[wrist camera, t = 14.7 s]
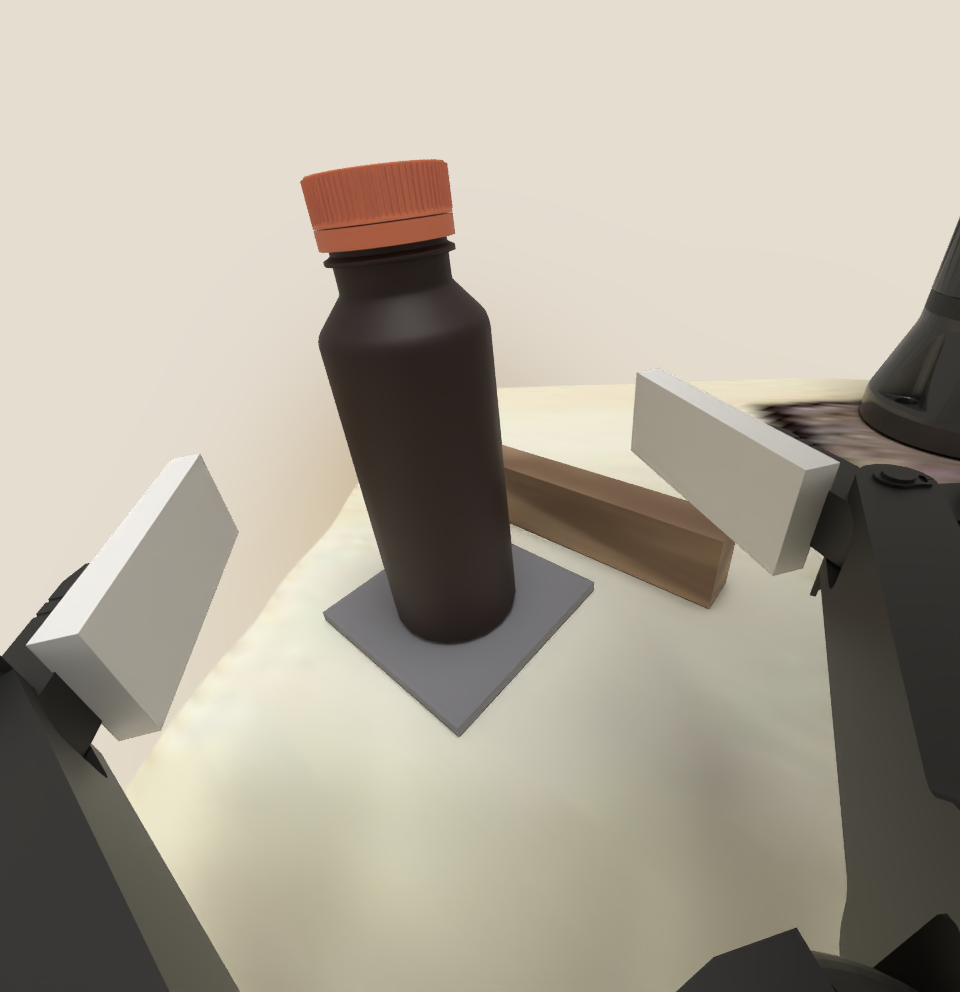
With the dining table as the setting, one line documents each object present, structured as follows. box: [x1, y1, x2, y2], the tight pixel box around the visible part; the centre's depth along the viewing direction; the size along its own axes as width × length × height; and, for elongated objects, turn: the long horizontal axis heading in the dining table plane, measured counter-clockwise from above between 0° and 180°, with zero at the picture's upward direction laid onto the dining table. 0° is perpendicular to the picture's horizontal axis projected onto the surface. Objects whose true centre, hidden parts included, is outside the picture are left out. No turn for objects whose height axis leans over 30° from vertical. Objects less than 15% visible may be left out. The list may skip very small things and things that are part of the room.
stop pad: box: [323, 544, 594, 737], centre depth 26 cm, size 11×11×1 cm
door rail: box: [502, 445, 735, 609], centre depth 31 cm, size 2×22×4 cm, turn 48°
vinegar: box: [300, 159, 516, 643], centre depth 21 cm, size 7×7×20 cm
